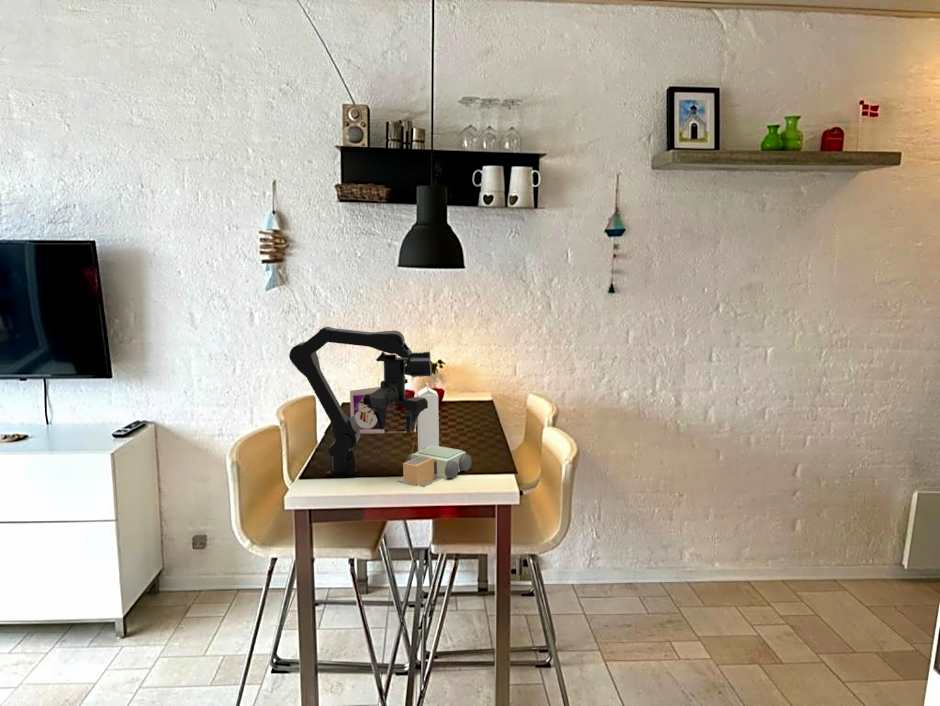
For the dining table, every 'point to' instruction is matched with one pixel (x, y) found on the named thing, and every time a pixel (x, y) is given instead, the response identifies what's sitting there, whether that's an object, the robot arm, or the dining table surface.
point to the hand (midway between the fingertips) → (395, 431)
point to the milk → (428, 420)
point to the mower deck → (445, 460)
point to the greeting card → (364, 411)
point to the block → (418, 469)
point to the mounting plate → (425, 482)
